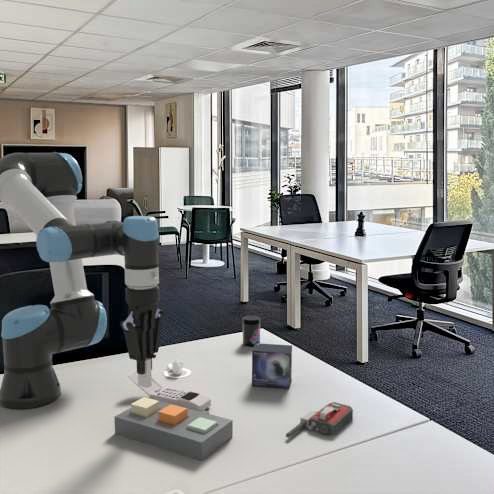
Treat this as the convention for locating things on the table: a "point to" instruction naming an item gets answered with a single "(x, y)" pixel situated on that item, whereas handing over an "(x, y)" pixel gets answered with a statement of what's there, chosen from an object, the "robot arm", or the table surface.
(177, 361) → the white candle holder
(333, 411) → the walkie-talkie
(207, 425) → the sage button
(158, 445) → the button console
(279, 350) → the small box
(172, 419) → the orange button
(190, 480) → the table surface
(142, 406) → the sand button
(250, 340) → the supplement container
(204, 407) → the mobile phone
